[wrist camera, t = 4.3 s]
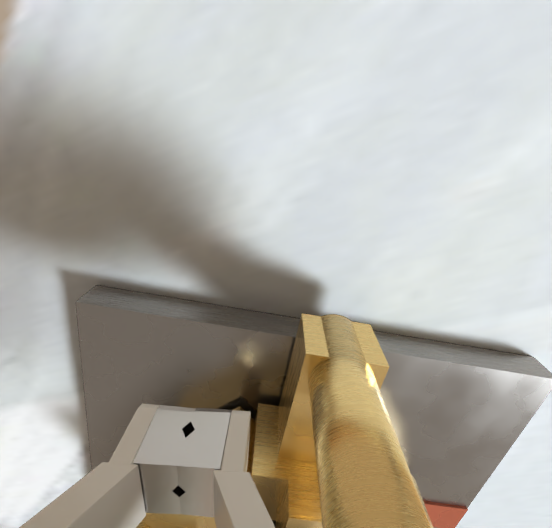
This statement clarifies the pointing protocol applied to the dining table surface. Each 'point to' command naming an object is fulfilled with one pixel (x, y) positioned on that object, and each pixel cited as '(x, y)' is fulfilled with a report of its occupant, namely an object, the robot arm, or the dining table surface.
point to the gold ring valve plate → (327, 440)
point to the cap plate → (272, 373)
